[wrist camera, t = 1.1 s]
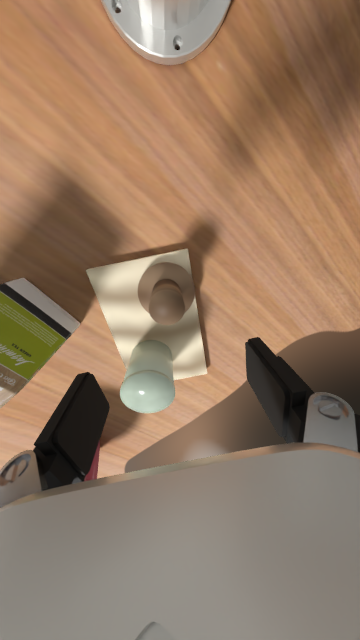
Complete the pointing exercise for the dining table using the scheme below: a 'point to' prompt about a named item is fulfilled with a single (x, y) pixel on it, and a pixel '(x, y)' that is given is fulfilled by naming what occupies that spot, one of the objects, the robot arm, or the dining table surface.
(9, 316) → the tea box
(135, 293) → the board
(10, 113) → the dining table surface
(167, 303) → the lid
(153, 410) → the jar
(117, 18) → the robot arm
